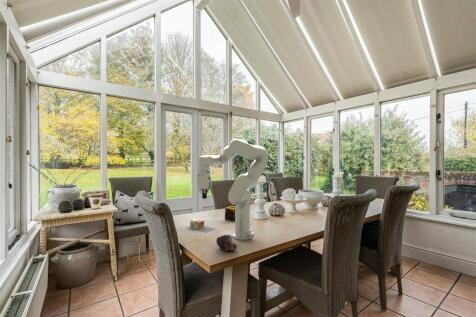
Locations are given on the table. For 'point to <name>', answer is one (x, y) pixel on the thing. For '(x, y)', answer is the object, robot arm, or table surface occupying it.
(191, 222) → the maple block
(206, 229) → the mat
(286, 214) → the table surface
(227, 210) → the candle
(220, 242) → the rock
